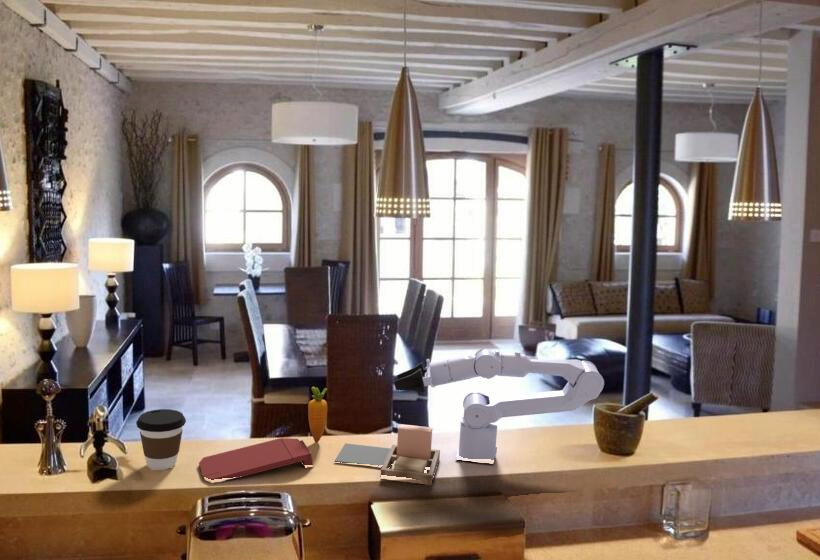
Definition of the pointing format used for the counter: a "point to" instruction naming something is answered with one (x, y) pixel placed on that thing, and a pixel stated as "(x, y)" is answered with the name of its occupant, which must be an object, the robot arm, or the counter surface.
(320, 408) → the carrot
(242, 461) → the reddish-brown flat block
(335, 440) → the counter surface
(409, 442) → the pink rectangular block
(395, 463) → the offcut stack
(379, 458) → the mat
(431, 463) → the tray
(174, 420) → the coffee cup
